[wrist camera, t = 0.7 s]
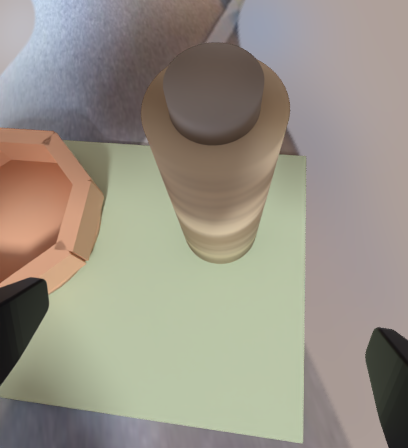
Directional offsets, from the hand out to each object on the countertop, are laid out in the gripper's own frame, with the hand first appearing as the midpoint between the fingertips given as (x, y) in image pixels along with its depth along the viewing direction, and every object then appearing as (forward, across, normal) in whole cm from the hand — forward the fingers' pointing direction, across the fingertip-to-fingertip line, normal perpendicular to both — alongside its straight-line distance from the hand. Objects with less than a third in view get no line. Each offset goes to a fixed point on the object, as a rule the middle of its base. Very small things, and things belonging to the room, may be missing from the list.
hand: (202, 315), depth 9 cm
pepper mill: (+14, 0, +4) cm, 15 cm away
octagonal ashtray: (+14, +15, +5) cm, 21 cm away
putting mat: (+12, +8, +6) cm, 16 cm away
